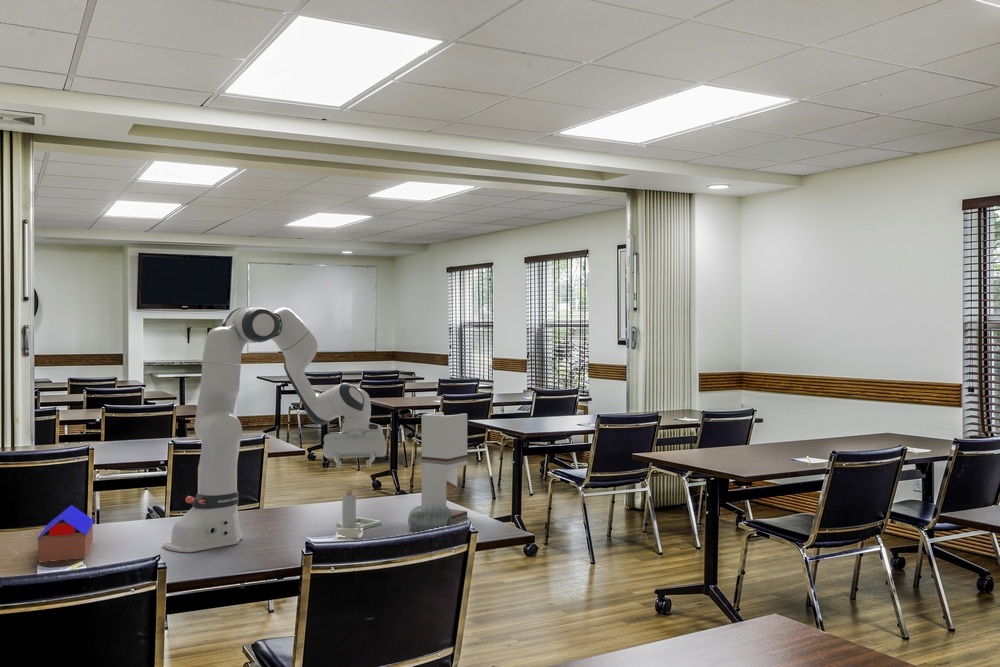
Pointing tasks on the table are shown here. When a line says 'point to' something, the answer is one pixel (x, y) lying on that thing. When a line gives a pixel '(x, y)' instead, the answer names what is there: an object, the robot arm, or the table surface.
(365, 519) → the tray
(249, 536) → the table surface
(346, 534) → the white toy chair
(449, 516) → the grey furry rounded block
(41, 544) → the house
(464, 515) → the notched white block
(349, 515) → the gray bottle
